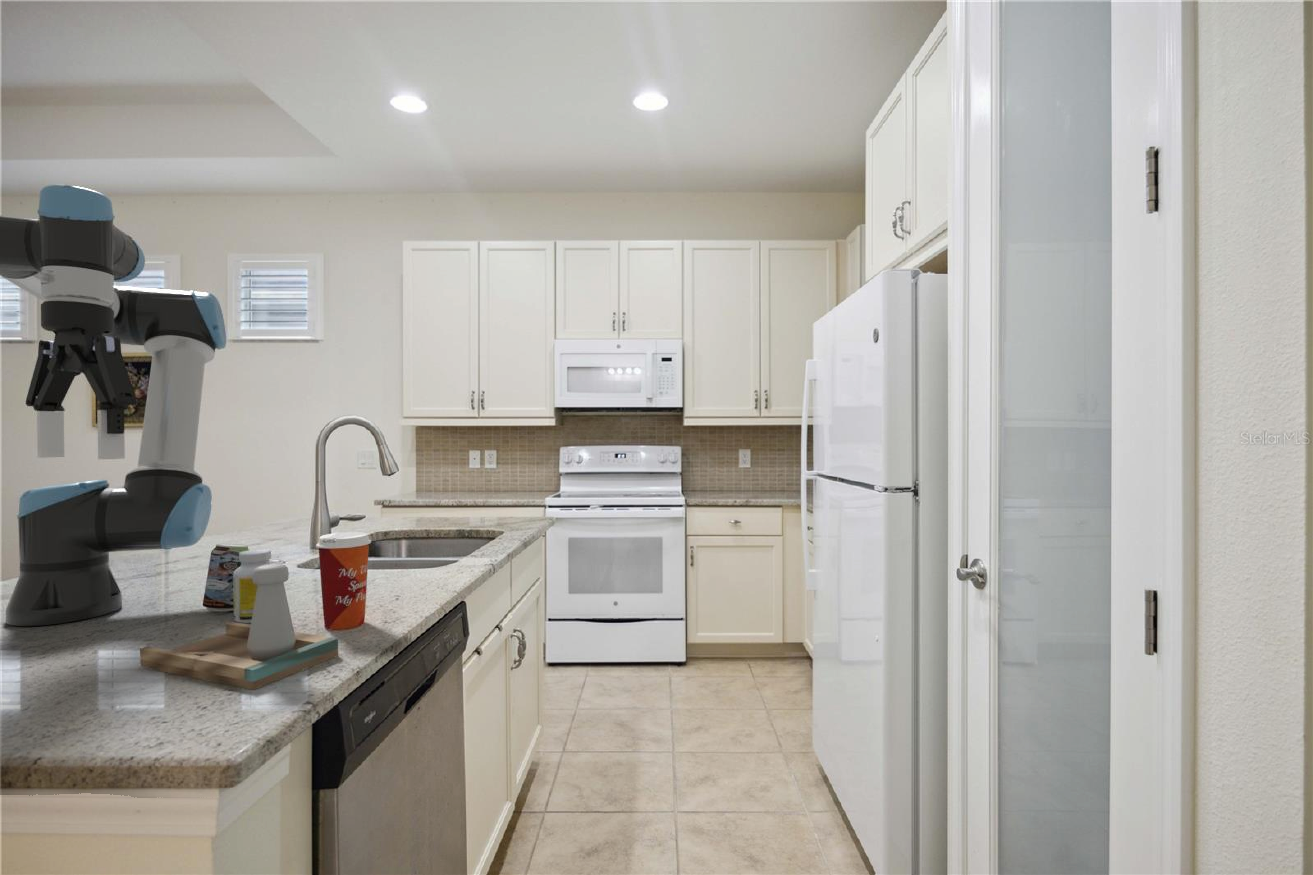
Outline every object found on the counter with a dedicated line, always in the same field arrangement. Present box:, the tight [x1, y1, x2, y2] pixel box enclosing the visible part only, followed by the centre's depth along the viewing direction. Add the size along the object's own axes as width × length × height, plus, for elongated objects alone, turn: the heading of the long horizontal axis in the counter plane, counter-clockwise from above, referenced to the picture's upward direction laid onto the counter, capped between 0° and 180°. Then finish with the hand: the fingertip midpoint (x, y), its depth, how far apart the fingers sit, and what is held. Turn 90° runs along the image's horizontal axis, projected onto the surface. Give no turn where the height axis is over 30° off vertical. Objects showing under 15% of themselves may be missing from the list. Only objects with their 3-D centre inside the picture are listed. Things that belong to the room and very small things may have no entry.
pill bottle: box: [233, 548, 272, 624], centre depth 111 cm, size 6×6×12 cm
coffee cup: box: [315, 531, 372, 631], centre depth 107 cm, size 8×8×15 cm
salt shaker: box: [247, 563, 296, 662], centre depth 89 cm, size 6×6×13 cm
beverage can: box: [202, 543, 250, 612], centre depth 116 cm, size 6×7×12 cm
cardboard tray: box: [139, 621, 339, 691], centre depth 91 cm, size 22×13×2 cm, turn 69°
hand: (80, 458), depth 89 cm, fingers open, 13 cm apart
